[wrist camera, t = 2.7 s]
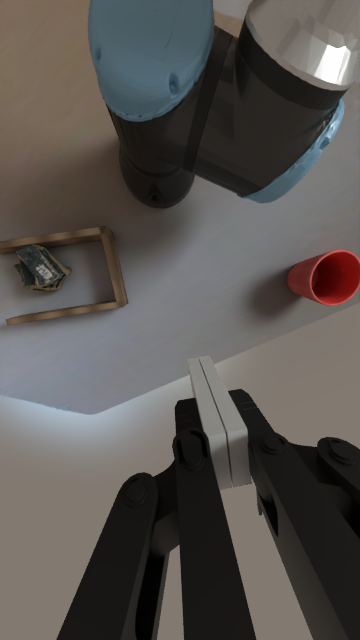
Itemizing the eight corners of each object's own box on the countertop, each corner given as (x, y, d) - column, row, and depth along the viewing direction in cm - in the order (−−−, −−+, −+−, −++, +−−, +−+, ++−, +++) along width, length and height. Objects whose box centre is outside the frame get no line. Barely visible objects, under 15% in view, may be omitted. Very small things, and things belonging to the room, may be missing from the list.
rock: (18, 265, 40) (-5, 261, 34) (56, 244, 40) (39, 237, 34) (43, 300, 42) (24, 302, 36) (79, 280, 42) (66, 279, 36)
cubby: (25, 319, 43) (7, 325, 38) (0, 248, 39) (-24, 244, 35) (128, 303, 44) (123, 306, 39) (112, 232, 40) (105, 226, 35)
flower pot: (293, 308, 47) (324, 316, 37) (273, 272, 44) (301, 271, 35) (329, 283, 46) (371, 285, 36) (311, 245, 43) (350, 237, 34)
